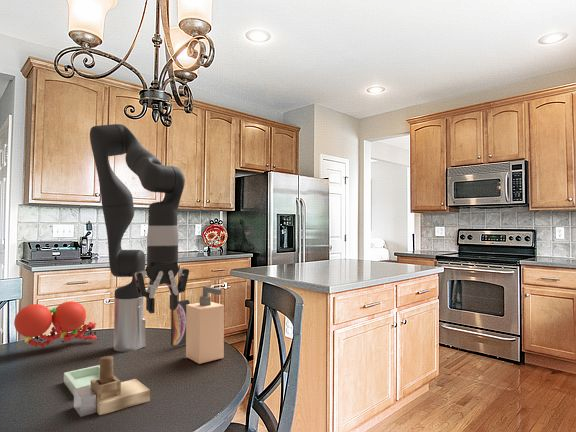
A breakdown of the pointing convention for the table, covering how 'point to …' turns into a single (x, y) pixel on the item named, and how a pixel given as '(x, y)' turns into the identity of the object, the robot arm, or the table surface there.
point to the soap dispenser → (205, 328)
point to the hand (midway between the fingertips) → (162, 311)
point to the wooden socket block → (118, 394)
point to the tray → (81, 377)
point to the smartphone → (179, 324)
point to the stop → (84, 401)
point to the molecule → (63, 319)
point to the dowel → (106, 370)
